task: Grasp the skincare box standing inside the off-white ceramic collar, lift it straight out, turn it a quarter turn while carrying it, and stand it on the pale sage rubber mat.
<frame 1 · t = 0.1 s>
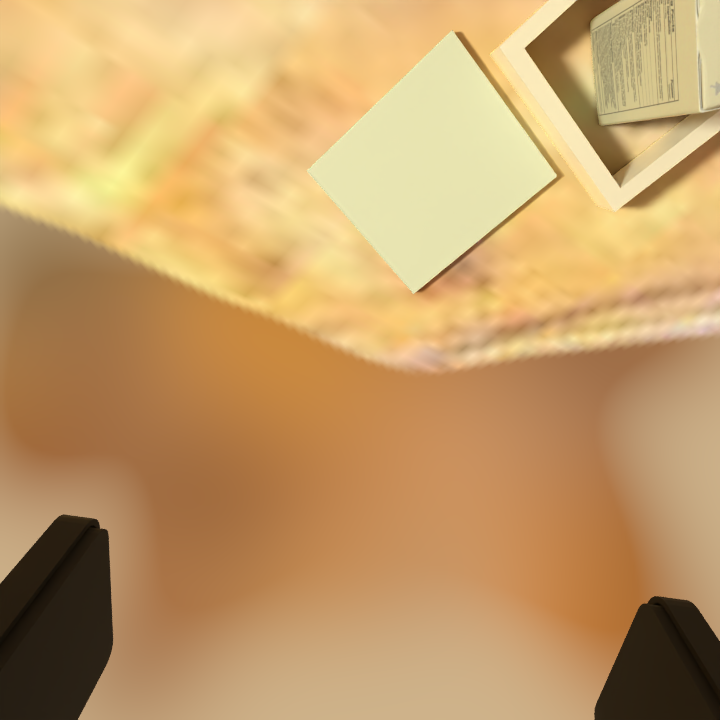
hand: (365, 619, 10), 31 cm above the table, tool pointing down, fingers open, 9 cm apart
skincare box: (626, 63, 34), resting in collar
collar: (628, 63, 33), on the table
mat: (430, 172, 36), on the table
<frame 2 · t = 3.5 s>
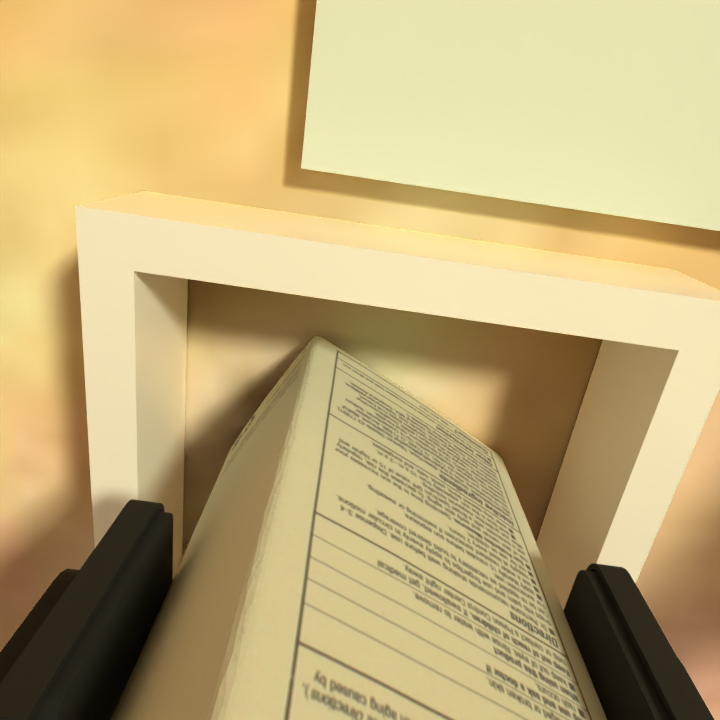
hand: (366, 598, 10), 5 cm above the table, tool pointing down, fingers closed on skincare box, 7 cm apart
skincare box: (371, 451, 15), resting in collar, touching gripper
collar: (371, 456, 15), on the table
when the fingers open (7 cm above the table, at t = 11.7 s): skincare box drops 1 cm, resting on mat.
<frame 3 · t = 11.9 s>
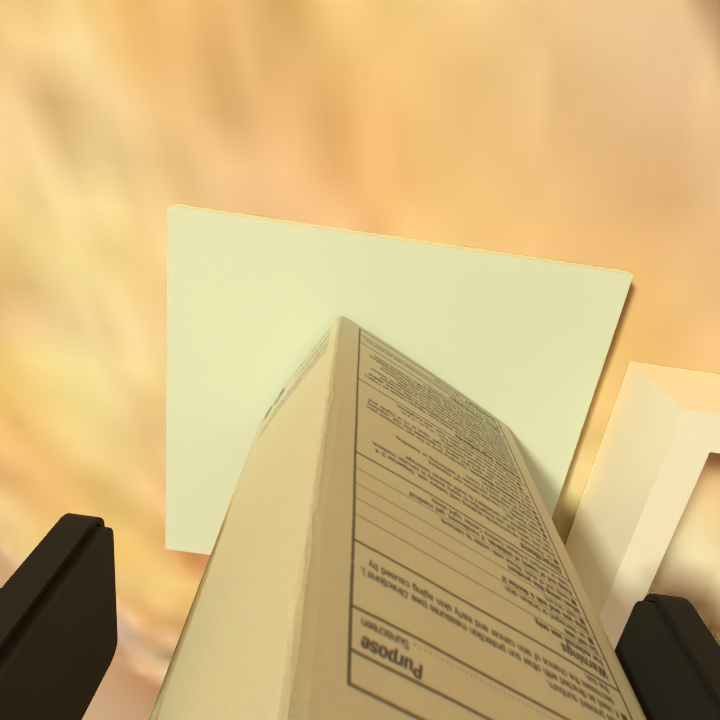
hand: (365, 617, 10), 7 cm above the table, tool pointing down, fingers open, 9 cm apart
skincare box: (388, 423, 16), resting on mat
mat: (371, 419, 17), on the table
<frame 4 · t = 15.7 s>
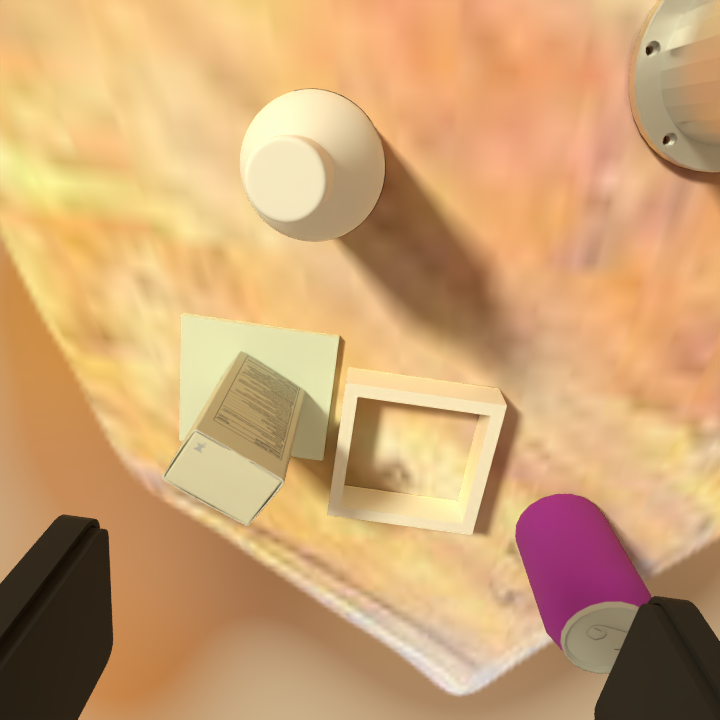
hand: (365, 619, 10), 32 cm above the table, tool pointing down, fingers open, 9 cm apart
skincare box: (262, 389, 43), resting on mat
collar: (410, 443, 45), on the table
beverage can: (556, 522, 48), on the table
bath foam: (333, 159, 37), on the table
mat: (257, 388, 44), on the table
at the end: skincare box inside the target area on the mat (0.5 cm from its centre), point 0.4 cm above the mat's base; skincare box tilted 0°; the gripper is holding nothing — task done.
